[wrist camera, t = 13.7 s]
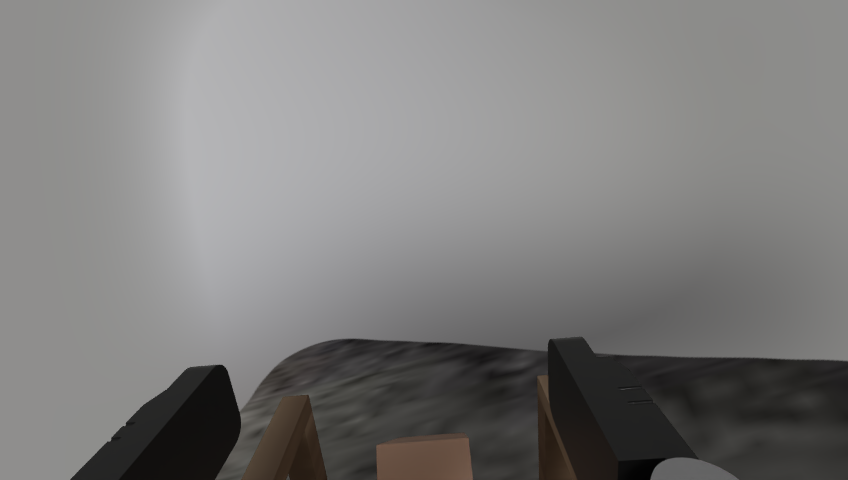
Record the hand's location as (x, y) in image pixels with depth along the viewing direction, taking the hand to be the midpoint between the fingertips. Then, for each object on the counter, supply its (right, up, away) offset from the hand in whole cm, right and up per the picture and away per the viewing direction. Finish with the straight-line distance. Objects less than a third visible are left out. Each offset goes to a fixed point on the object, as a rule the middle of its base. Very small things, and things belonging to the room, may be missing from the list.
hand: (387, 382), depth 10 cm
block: (+1, -10, +11) cm, 14 cm away
